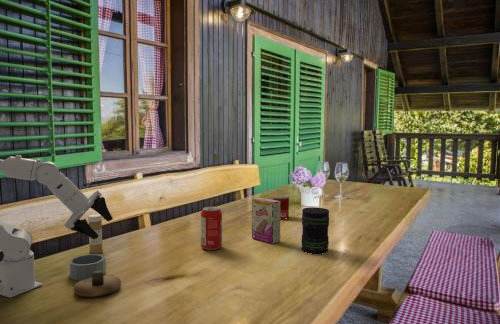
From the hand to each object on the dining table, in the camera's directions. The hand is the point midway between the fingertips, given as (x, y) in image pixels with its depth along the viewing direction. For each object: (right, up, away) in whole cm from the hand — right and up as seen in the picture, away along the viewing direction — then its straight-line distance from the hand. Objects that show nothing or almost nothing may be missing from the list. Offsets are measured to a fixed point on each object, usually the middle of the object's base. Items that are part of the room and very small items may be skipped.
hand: (103, 228), depth 118 cm
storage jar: (+67, -13, +26) cm, 74 cm away
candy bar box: (+50, -11, +38) cm, 64 cm away
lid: (+2, -16, -9) cm, 18 cm away
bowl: (-6, -14, +3) cm, 16 cm away
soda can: (+29, -12, +29) cm, 43 cm away
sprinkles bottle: (-11, -13, +23) cm, 29 cm away
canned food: (+59, -8, +76) cm, 97 cm away
